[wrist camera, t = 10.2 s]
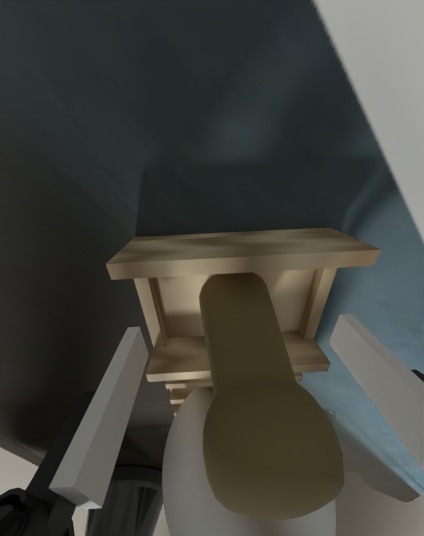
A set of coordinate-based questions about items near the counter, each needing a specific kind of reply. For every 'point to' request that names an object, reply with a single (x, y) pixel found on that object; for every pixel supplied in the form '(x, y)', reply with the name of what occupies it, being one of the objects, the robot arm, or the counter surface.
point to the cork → (261, 411)
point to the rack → (195, 352)
